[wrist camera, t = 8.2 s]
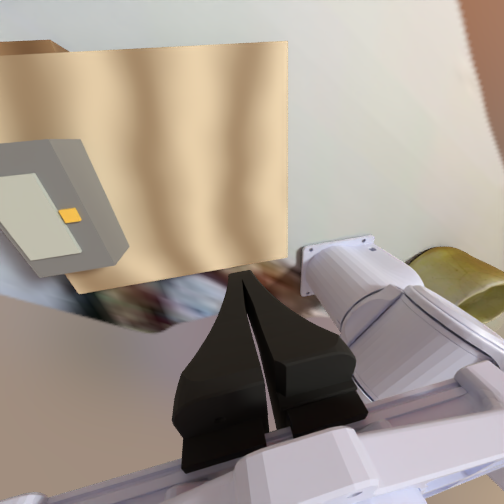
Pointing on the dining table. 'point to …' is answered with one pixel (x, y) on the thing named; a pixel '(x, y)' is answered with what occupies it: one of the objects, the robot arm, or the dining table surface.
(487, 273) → the mug
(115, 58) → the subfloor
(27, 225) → the block
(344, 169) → the dining table surface
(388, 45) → the dining table surface
